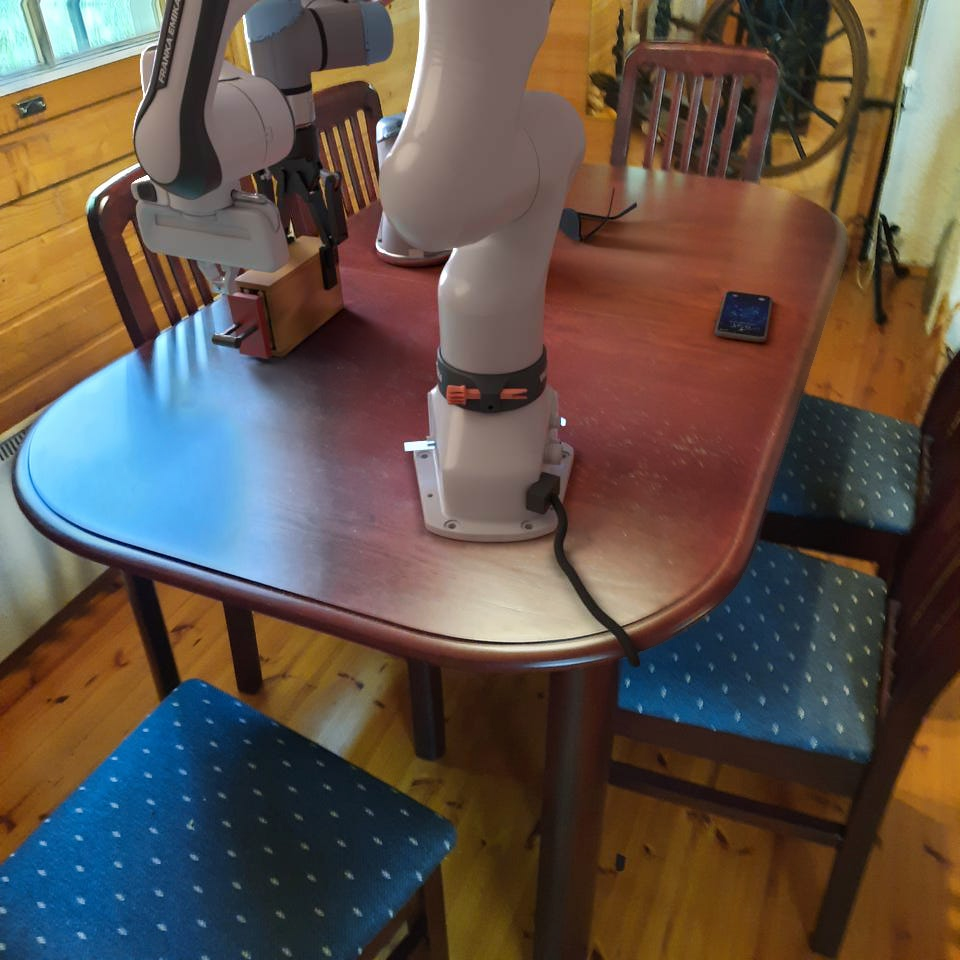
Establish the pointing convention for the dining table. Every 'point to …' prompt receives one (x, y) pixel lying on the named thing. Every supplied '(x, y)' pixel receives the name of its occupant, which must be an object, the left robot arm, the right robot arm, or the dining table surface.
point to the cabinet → (296, 294)
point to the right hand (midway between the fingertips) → (224, 292)
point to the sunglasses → (572, 221)
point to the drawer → (248, 325)
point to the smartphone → (744, 316)
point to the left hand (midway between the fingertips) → (312, 283)
